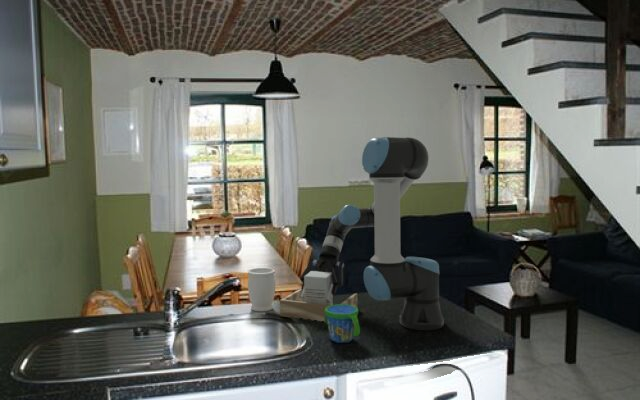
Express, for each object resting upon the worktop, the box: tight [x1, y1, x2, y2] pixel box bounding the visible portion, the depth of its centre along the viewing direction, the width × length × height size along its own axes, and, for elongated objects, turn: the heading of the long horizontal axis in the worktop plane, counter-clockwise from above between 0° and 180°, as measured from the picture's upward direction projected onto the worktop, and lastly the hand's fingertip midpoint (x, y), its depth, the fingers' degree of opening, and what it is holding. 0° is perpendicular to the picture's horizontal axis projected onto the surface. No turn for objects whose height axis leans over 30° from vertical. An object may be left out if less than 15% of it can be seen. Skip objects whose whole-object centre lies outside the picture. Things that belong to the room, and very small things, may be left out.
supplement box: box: [304, 271, 334, 305], centre depth 193 cm, size 9×9×15 cm
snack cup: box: [324, 303, 361, 344], centre depth 165 cm, size 16×10×10 cm
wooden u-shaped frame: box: [279, 288, 358, 323], centre depth 194 cm, size 19×24×6 cm
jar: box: [247, 267, 276, 312], centre depth 199 cm, size 11×10×15 cm
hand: (315, 299), depth 190 cm, fingers closed on supplement box, 10 cm apart
